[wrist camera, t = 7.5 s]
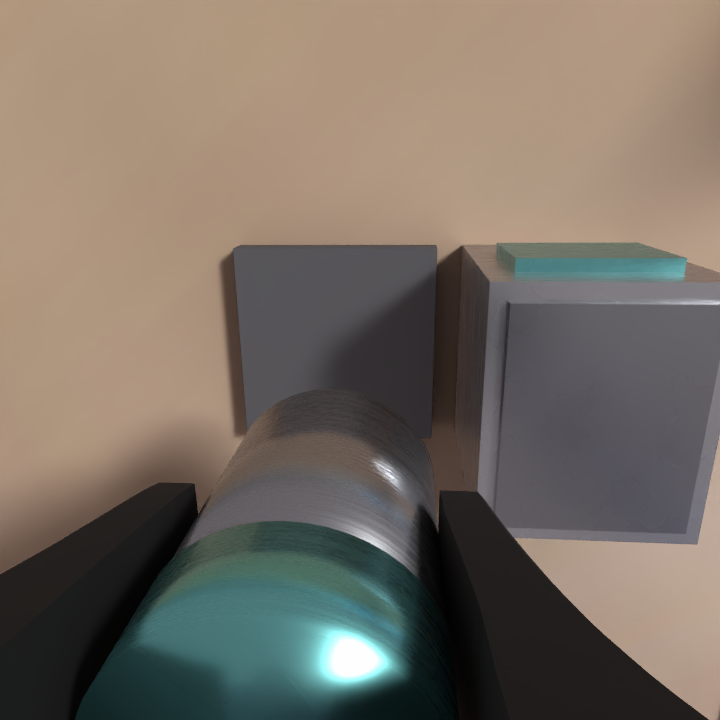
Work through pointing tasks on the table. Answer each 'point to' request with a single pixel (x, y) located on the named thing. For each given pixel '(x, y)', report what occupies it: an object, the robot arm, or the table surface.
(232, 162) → the table surface
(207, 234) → the table surface
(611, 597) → the table surface
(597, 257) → the control box
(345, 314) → the pad
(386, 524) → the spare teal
